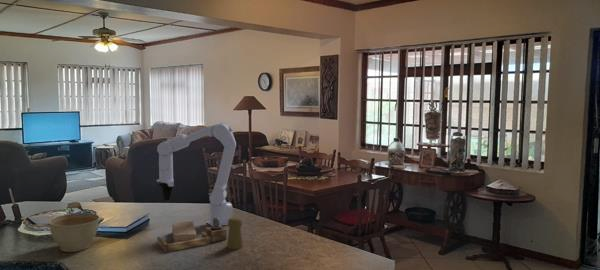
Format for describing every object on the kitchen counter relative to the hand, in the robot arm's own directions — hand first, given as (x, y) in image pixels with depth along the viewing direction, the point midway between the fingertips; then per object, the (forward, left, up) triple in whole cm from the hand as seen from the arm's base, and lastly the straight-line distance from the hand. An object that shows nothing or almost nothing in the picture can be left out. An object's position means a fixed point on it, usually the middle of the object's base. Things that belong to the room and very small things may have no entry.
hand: (166, 200), depth 188 cm
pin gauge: (-10, +30, -10) cm, 33 cm away
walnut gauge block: (-10, +30, -10) cm, 33 cm away
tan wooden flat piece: (+2, +29, -10) cm, 31 cm away
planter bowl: (+37, +13, -11) cm, 41 cm away
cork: (-13, +42, -11) cm, 45 cm away
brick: (0, +23, -11) cm, 25 cm away
